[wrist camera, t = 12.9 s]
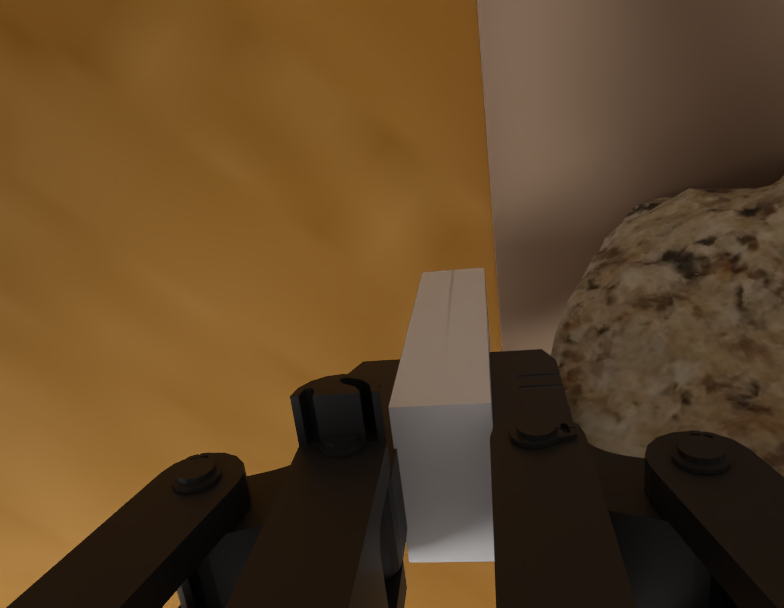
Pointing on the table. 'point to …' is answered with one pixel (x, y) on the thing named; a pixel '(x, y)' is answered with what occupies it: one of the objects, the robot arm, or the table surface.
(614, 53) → the cradle board
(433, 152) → the table surface
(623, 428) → the rock
